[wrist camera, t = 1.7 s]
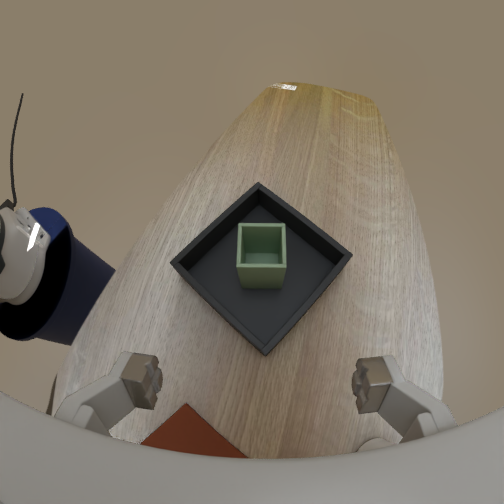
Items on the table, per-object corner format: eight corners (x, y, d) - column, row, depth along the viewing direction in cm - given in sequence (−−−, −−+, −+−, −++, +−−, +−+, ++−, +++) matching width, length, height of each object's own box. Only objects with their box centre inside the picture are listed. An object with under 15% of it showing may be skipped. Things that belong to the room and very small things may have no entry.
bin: (179, 274, 38) (169, 262, 33) (258, 200, 42) (258, 181, 37) (265, 356, 33) (265, 355, 29) (343, 267, 37) (353, 254, 33)
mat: (129, 453, 28) (128, 453, 27) (186, 402, 31) (185, 403, 31) (194, 512, 24) (193, 513, 24) (257, 464, 28) (257, 465, 27)
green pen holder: (241, 288, 36) (236, 267, 29) (243, 252, 38) (238, 223, 31) (281, 289, 36) (286, 267, 28) (281, 252, 38) (285, 223, 30)
